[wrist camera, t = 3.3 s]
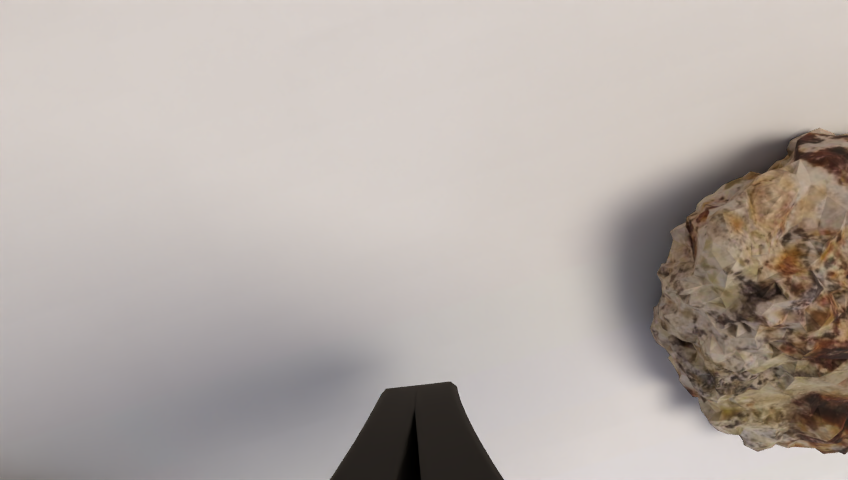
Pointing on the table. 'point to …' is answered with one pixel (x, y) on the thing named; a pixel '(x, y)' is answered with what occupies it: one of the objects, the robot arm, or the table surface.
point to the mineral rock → (766, 301)
